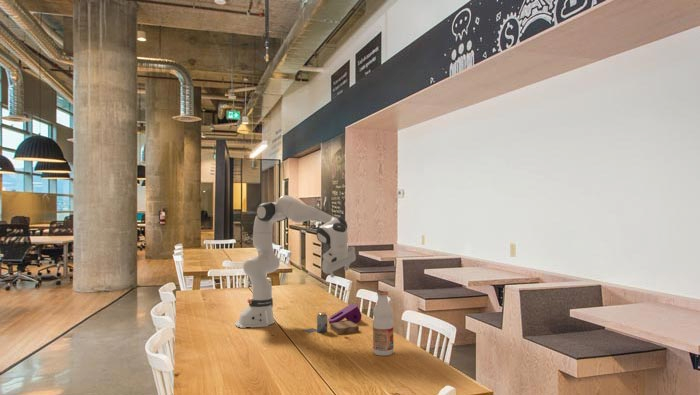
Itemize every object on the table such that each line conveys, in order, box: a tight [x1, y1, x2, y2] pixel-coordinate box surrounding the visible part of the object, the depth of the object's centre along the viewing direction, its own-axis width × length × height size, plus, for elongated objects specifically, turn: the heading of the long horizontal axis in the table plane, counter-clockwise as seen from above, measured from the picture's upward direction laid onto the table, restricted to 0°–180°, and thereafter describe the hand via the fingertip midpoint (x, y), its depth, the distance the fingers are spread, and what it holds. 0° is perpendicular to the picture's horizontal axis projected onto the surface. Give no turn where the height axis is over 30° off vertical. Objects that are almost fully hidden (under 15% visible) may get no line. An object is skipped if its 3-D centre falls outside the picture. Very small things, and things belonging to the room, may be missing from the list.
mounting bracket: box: [327, 303, 362, 324], centre depth 264 cm, size 10×8×18 cm
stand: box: [329, 320, 360, 335], centre depth 247 cm, size 12×12×3 cm
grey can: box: [316, 311, 328, 334], centre depth 244 cm, size 6×6×10 cm
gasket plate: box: [301, 327, 317, 334], centre depth 247 cm, size 7×7×1 cm
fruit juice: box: [372, 290, 394, 357], centre depth 209 cm, size 9×9×28 cm
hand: (339, 273), depth 244 cm, fingers open, 8 cm apart
